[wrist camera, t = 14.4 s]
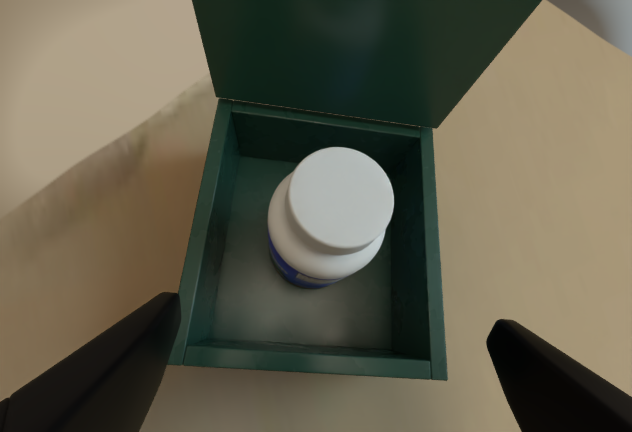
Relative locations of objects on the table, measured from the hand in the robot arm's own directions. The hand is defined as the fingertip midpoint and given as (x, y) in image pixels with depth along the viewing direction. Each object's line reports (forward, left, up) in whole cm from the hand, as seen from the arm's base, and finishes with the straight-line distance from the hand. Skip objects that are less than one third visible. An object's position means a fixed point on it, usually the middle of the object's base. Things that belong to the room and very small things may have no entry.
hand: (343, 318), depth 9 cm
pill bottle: (+4, 0, -11) cm, 12 cm away
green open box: (+4, 0, -12) cm, 12 cm away
